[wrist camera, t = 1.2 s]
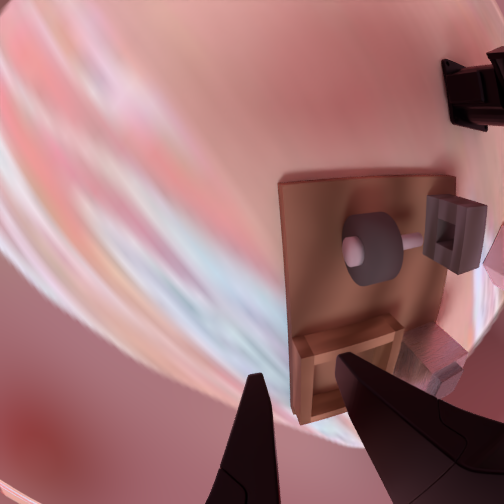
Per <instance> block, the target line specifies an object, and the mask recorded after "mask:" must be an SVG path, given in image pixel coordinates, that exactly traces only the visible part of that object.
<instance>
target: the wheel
mask: <svg viewBox="0 0 504 504" xmlns="http://www.w3.org/2000/svg"><path fill="white" fill-rule="evenodd" d="M422 244H423V237H422V235H421V233H419V232H417V233H411V234H405V235H401V233H400V231H399V228H398V226H397V224H396V223H395V221H394V220H393V218H392V217H391V216H390V215H388V214H387V213H385V212H371V213H363V214H355V215H350V216H349V217H348V218H347V219H346V221H345V223H344V226H343V230H342V252H343V257H344V261H345V264H346V267H347V270H348V272H349V274H350V276H351V278H352V279H353V281H354V282H355V283H356V284H358V285H359V286H368V285H372V284H376V283H380V282H384V281H388V280H392V279H394V278H395V277H396V276H397V275H398V274H399V272H400V270H401V267H402V263H403V255H404V250H406V249H411V248H416V247H420V246H422Z"/></svg>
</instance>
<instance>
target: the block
mask: <svg viewBox="0 0 504 504" xmlns="http://www.w3.org/2000/svg"><path fill="white" fill-rule="evenodd" d="M468 354H469V353H468V352H467V351H466V350H465V349H464V348H463V347H462V346H461V345H460V344H459V343H458V342H456V341H455V340H454V339H453V338H452V337H451V336H450V335H449V334H448V333H446V332H445V331H444V330H443V329H442V328H441V327H440V326H438V325H437V324H436V323H435V322H434V321H432V322H430V323H427V324H425V325H422V326H420V327H417V328H415V329H412V330H409V331H407V332H404V334H403V338H402V342H401V346H400V350H399V354H398V358H397V361H396V365H395V368H394V371H393V375H394V376H396V377H398V378H400V379H402V380H404V381H406V382H407V383H409V384H411V385H413V386H415V387H417V388H419V389H421V390H423V391H425V392H427V393H429V394H431V395H433V396H435V397H437V399H441V398H443V397H445V396H446V395H448V394H450V393H451V392H453V390H454V389H455V387H456V385H457V383H458V381H459V379H460V376H461V375H462V373H463V368H462V367H463V365H464V363H465V361H466V358H467V356H468Z"/></svg>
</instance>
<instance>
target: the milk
mask: <svg viewBox="0 0 504 504" xmlns="http://www.w3.org/2000/svg"><path fill="white" fill-rule="evenodd" d="M483 266H484V268H485V269H486V271H487V273H488V275H489V277H490V279H491V281H492V283H493V284H494V285H495V286H497V287H499V288H500V289H502V290H503V291H504V225H502V226H501V228H500V230H499V232H498V235H497V237H496V239H495V241H494V243H493V245H492V247H491V249H490V251H489V253H488V255H487V257H486V259H485V261H484V263H483Z"/></svg>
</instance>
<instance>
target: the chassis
mask: <svg viewBox="0 0 504 504" xmlns="http://www.w3.org/2000/svg"><path fill="white" fill-rule="evenodd" d="M278 194H279V206H280V218H281V230H282V243H283V257H284V272H285V287H286V304H287V323H288V344H289V369H290V403H291V409H292V412H293V415H294V414H296V415H297V418H298V421H299V424H300V425H304V424H308V423H311V422H315V421H319V420H322V419H326V418H329V417H332V416H335V415H339V414H342V413H345V412H347V409H346V406H345V404H344V401H343V398H342V395H341V393H340V390H339V387H338V384H337V382H336V379H335V365H336V357H337V355H338V354H341V353H345V352H352V353H354V354H355V355H357V356H359V357H361V358H363V359H365V360H366V361H368V362H370V363H372V364H374V365H376V366H377V367H379V368H381V369H383V370H385V371H387V372H389V373H390V374H392V375H393V371H394V368H395V365H396V361H397V358H398V354H399V350H400V346H401V342H402V338H403V334H404V332H407V331H409V330H412V329H415V328H417V327H420V326H422V325H425V324H427V323H430V322H432V321H434V322H435V323H436V320H437V316H438V312H439V308H440V304H441V299H442V295H443V290H444V286H445V280H446V275H447V270H448V269H449V270H451V271H452V272H454V273H456V274H457V275H459V274H462V273H465V272H468V271H470V270H473V269H476V268H479V264H480V259H481V253H482V247H483V241H484V234H485V226H486V217H487V205H484V204H481V203H478V202H475V201H472V200H468V199H465V198H462V197H458V196H456V177H455V176H450V175H389V176H365V177H348V178H333V179H320V180H308V181H297V182H287V183H278ZM371 212H385V213H387V214H388V215H390V216H391V217H392V218H393V220H394V221H395V223H396V224H397V226H398V228H399V231H400V233H401V235H405V234H411V233H417V232H419V233H421V235H422V237H423V244H422V246H420V247H416V248H411V249H406V250H404V255H403V263H402V267H401V270H400V272H399V274H398V275H397V276H396V277H395V278H394V279H392V280H388V281H384V282H380V283H376V284H372V285H368V286H359V285H358V284H356V283H355V282H354V281H353V279H352V278H351V276H350V274H349V272H348V270H347V267H346V264H345V261H344V257H343V252H342V230H343V226H344V223H345V221H346V219H347V218H348V217H349V216H350V215H355V214H363V213H371Z"/></svg>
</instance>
